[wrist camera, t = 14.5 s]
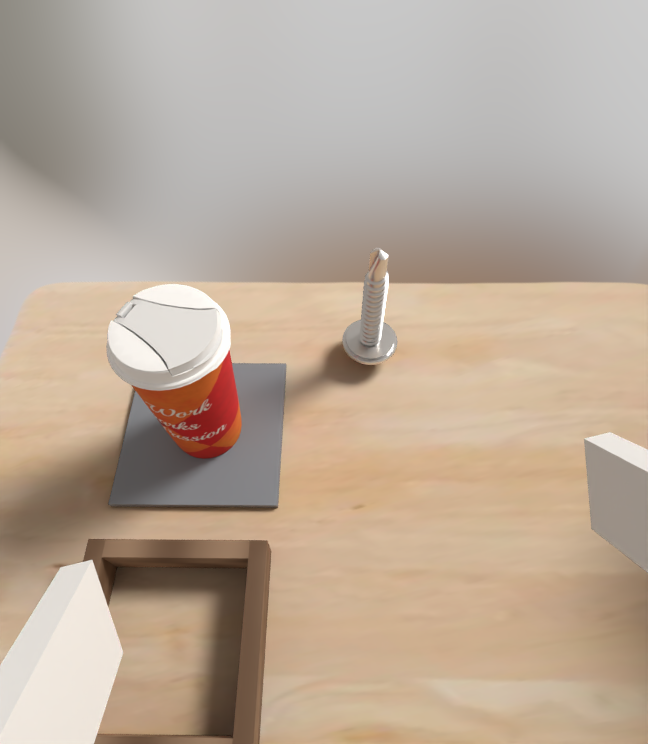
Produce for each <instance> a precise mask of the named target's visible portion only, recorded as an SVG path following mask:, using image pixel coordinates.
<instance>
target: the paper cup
mask: <svg viewBox="0 0 648 744" xmlns="http://www.w3.org/2000/svg"><path fill="white" fill-rule="evenodd" d="M116 315H117V317H116V318H115V319H114V320H113V321H112V320H111V322H110V325H109V328H108V334H107V339H108V341H107V357H108V361H109V363H110V365H111V367H112V369H113V370H114V372H115V373H116V374H117V375H118V376H119V377H120V378H121V379H122V380H124V381H125V382H127V383H129V384H130V385H132V387H133V388H134V389H135V391H136V392H137V393H138V395H139V396H140V397H141V399H142V400H143V401H144V402H145V404H146V405H147V406H148V408H149V409H150V410H151V412H152V413H153V414H154V416H155V417H156V418H157V420H158V421H159V422H160V423H161V425H162V426H163V427H164V429H165V430H166V431H167V432H168V434H169V435H170V436H171V438H172V439H173V440H174V441H175V442H176V444H177V445H178V446H179V447H180V448H181V449H182V450H183V451H184V452H185V453H187V454H188V455H190V456H193V457H196V458H202V459H207V458H213V457H217V456H219V455H222V454H224V453H225V452H227V451H228V450H229V449H230V448H232V447H233V445H234V444H235V443H236V442H237V440H238V438H239V436H240V433H241V427H242V421H241V413H240V406H239V400H238V395H237V389H236V383H235V378H234V373H233V367H232V362H231V356H230V351H229V349H230V346H231V342H230V325H229V321H228V319H227V316H226V314H225V313H224V311H223V310H222V308H221V307H220V306H219V305H218V304H217V303H215V302H214V301H213V300H212V299H211V298H210V297H209V296H207V295H206V294H205V293H203V292H202V291H200V290H198V289H195V288H193V287H190V286H186V285H180V284H166V285H159V286H154V287H151V288H148V289H145V290H143V291H141V292H139V293H137V294H135V295H133V299H132V300H131V301H130V302H127V303H126V304H125V305H124V306H123V307H122V308H121V309H120V311H119V312H118V313H117V314H116Z"/></svg>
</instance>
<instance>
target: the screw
mask: <svg viewBox="0 0 648 744" xmlns="http://www.w3.org/2000/svg"><path fill="white" fill-rule="evenodd" d="M387 263H388V255H387V254H386V253H384V252H383V251H381V249H380V248H375V249H373V250H372V251H371V254H370V264H369V272H368V273H367V274H366V275H365V281H364V291H363V302H362V304H363V305H362V315H361V320H358V321H356V322H354V323H352V324H351V325H350V326H349V327H347V329H346V330H345V332H344V335H343V348H344V350H345V352H346V353H347V355H348V356H349V357H350V358H352V359H353V360H355V361H356V362H358V363H362V364H366V365H376V364H380V363H383V362H385V361H387V360H388V359H389V358H391V357H392V355H393V354H394V353H395V350H396V347H397V336H396V334H395V332H394V331H393V329H392V328H391V327H390V326H389V325H388V324H386V323H384V322H383V318H384V312H385V304H386V298H387V289H388V283H389V280H388V272H387Z"/></svg>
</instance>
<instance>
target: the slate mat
mask: <svg viewBox="0 0 648 744" xmlns="http://www.w3.org/2000/svg"><path fill="white" fill-rule="evenodd" d="M232 367H233V373H234V378H235V383H236V389H237V395H238V400H239V406H240V413H241V421H242V427H241V433H240V436H239V438H238V440H237V442H236V443H235V444H234V445H233V447H232V448H230V449H229V450H228V451H227V452H225V453H224V454H222V455H219V456H217V457H213V458H207V459H202V458H196V457H193V456H190V455H188V454H187V453H185V452H184V451H183V450H182V449H181V448H180V447H179V446H178V445H177V444H176V442H175V441H174V440H173V439H172V438H171V436H170V435H169V434H168V432H167V431H166V430H165V429H164V427H163V426H162V425H161V423H160V422H159V421H158V420H157V418H156V417H155V416H154V414H153V413H152V412H151V410H150V409H149V408H148V406H147V405H146V404H145V402H144V401H143V400H142V399H141V397H140V396H139V395H138V393H137V392H136V391H135V394H134V399H133V403H132V407H131V411H130V415H129V420H128V424H127V428H126V432H125V436H124V441H123V445H122V449H121V453H120V457H119V462H118V466H117V470H116V474H115V478H114V483H113V487H112V491H111V495H110V499H109V505H110V506H140V507H278V498H279V481H280V464H281V447H282V430H283V413H284V396H285V379H286V364H249V363H232Z"/></svg>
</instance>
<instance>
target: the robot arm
mask: <svg viewBox="0 0 648 744" xmlns="http://www.w3.org/2000/svg"><path fill="white" fill-rule="evenodd" d="M584 443H585V455H586V467H587V480H588V492H589V504H590V517H591V529H592V530H594V531H595V532H596V533H597V534H599V535H600V536H601V537H603V538H604V539H605V540H606V541H608V542H609V543H610V544H612V545H613V546H614V547H615V548H617V549H618V550H619V551H621V552H622V553H623V554H624V555H626V556H627V557H628V558H630V559H631V560H632V561H633V562H635V563H636V564H637V565H638V566H640V567H641V568H642V569H644V570H645V571H646V572H647V573H648V450H647V449H645V448H643V447H641V446H638V445H636V444H634V443H632V442H630V441H628V440H626V439H624V438H621V437H619V436H617V435H615V434H613V433H611V432H609V433H605V434H601V435H597V436H593V437H589V438H585V439H584ZM122 655H123V650H122V647H121V644H120V641H119V638H118V635H117V632H116V629H115V626H114V623H113V620H112V617H111V614H110V611H109V608H108V605H107V602H106V599H105V596H104V593H103V590H102V587H101V584H100V581H99V578H98V575H97V572H96V569H95V566H94V563H93V560H89V561H84V562H80V563H76V564H72V565H68V566H64V567H61V568H60V569H59V571H58V572H57V574H56V576H55V577H54V579H53V581H52V582H51V584H50V585H49V587H48V589H47V590H46V592H45V594H44V595H43V597H42V598H41V600H40V602H39V603H38V605H37V606H36V608H35V610H34V611H33V613H32V615H31V616H30V618H29V619H28V621H27V623H26V624H25V626H24V628H23V629H22V631H21V632H20V634H19V636H18V637H17V639H16V641H15V642H14V644H13V645H12V647H11V649H10V650H9V652H8V654H7V655H6V657H5V658H4V660H3V662H2V663H1V665H0V744H94V742H95V739H96V736H97V733H98V730H99V726H100V723H101V720H102V717H103V714H104V711H105V708H106V705H107V702H108V698H109V695H110V692H111V689H112V686H113V683H114V680H115V677H116V674H117V670H118V667H119V664H120V661H121V658H122Z"/></svg>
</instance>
